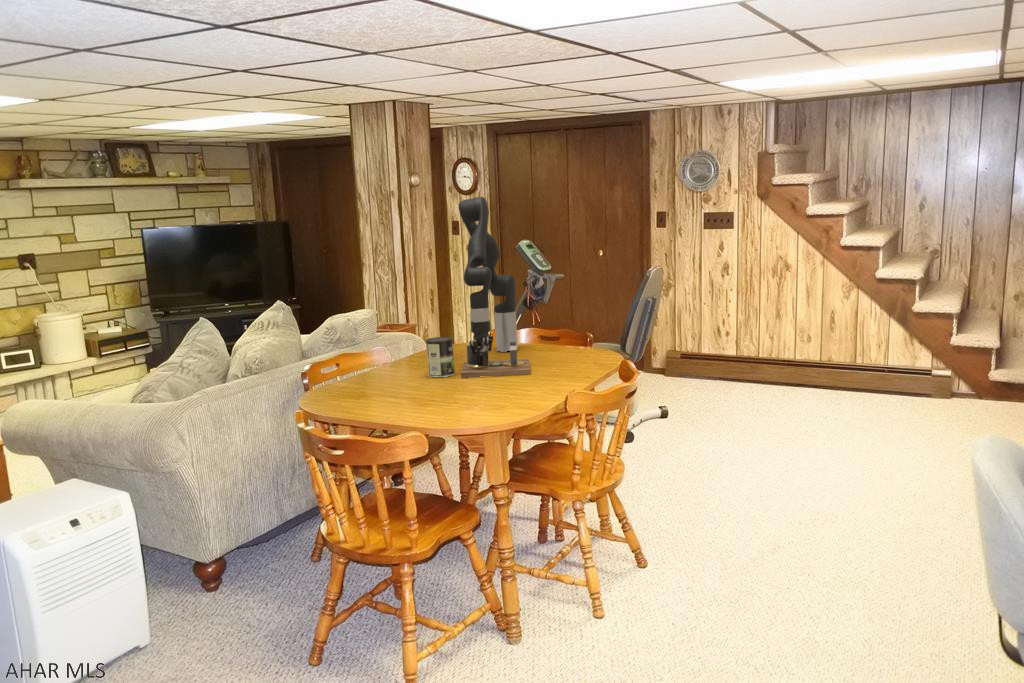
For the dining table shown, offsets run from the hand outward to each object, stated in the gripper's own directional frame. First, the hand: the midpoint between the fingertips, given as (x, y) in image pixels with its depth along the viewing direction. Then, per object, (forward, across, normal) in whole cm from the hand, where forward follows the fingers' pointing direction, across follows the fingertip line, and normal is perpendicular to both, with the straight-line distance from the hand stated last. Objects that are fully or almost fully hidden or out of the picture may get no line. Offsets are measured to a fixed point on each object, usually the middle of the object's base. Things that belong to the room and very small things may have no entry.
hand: (482, 364), depth 312 cm
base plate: (+3, -4, +3) cm, 6 cm away
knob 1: (+1, -1, -3) cm, 3 cm away
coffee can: (+4, +9, -13) cm, 16 cm away
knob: (+1, -8, +9) cm, 12 cm away
